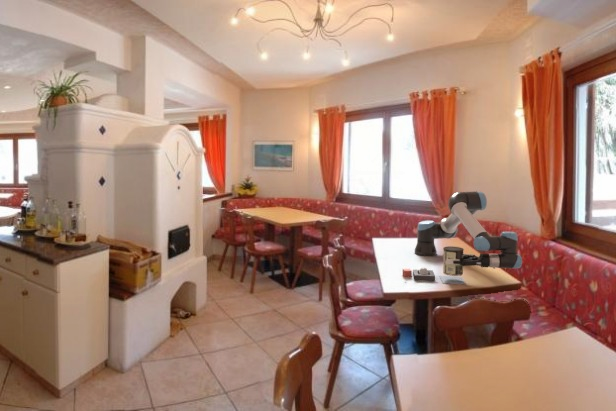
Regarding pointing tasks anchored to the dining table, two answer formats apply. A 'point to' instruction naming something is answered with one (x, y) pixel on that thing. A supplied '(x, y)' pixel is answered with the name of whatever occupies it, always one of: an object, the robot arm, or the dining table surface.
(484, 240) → the robot arm
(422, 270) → the dome
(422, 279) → the popper frame
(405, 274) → the die
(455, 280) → the square pad
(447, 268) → the coffee can
